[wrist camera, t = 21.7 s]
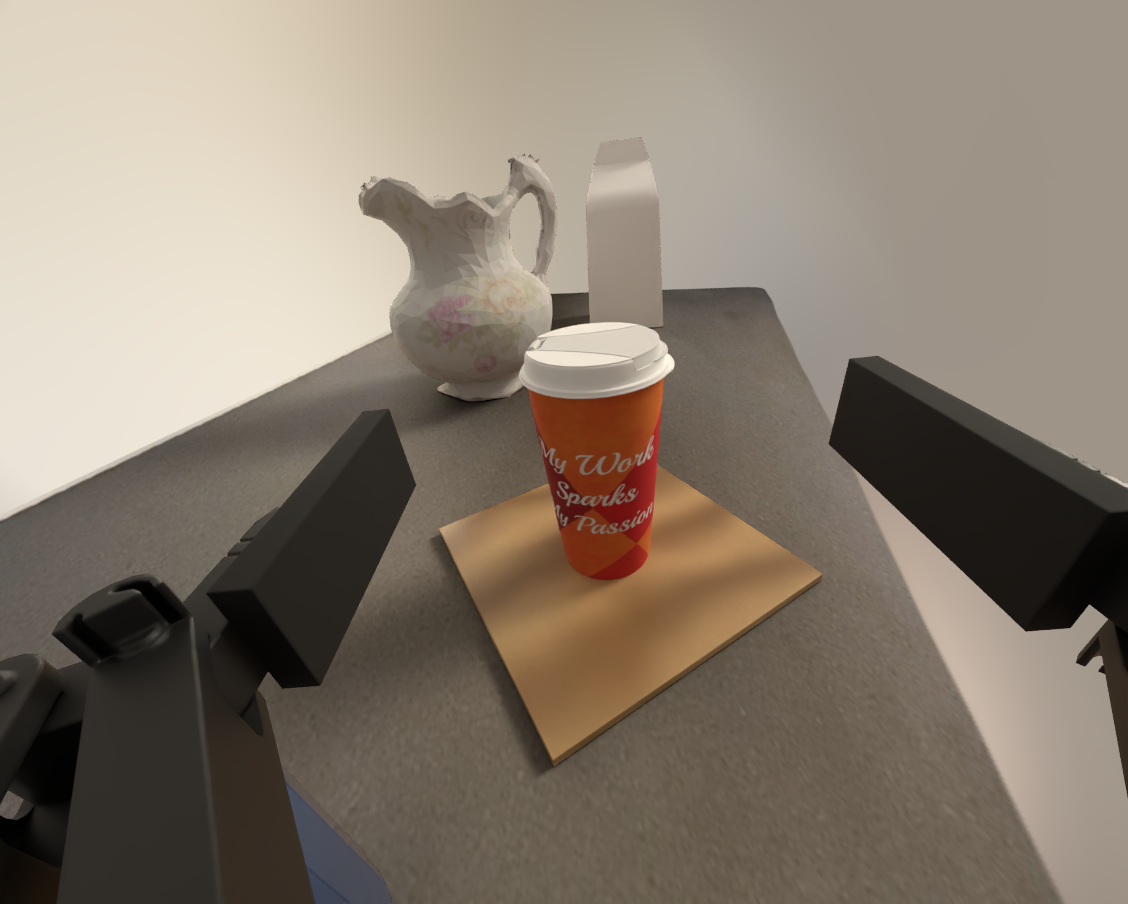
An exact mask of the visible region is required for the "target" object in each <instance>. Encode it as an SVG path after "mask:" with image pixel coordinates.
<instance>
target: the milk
mask: <svg viewBox="0 0 1128 904" xmlns="http://www.w3.org/2000/svg"><path fill="white" fill-rule="evenodd" d="M648 158H649V157H648V154H647V152H646V149H645V146H644V143H643V140H642V138H641V137H638V138H631V139H623V140H616V141H609V142H602V143H601V144H600V147H599V150H598V153H597V156H596V160H595V163H594V167H593V171H592V176H591V181H590V186H589V191H588V196H587V206H586V216H587V248H588V277H589V278H588V279H589V311H590V323H602V322H620V323H631V324H637V325H641V326H644V327H647V328H650V327H663V307H662V282H661V281H662V278H661V249H660V222H659V199H658V192H657V187H656V183H655V179H654V176H653V171H652V167H651V164H650V160H649V159H648Z"/></svg>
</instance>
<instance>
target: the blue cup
mask: <svg viewBox="0 0 1128 904" xmlns="http://www.w3.org/2000/svg"><path fill="white" fill-rule="evenodd" d="M281 766H282V770H283V774H284V778H285V782H286V786H287V790H288V795H289V799H290V803H291V807H292V811H293V815H294V819H295V823H296V827H297V831H298V835H299V839H300V843H301V847H302V851H303V855H304V859H305V863H306V868H307V872H308V876H309V880H310V884H311V888H312V892H313V896H314V900H315V904H392V900H391V897H390V894H389V891H388V888H387V885H386V883H385V881H384V879H383V877H382V876H381V874H380V872H379V870H378V869H377V868H376V867H375V866H374V864H373V863H372V862H371V861H370V859H369V858H368V856H367V855H366V853H365V852H364V850H363V849H362V848H361V847H360V846H359V845H358V844H357V843H356V842H355V841H354V840H353V839H352V838H351V837H350V836H349V834H348V833H347V832H346V831H345V830H344V829H343V828H342V827H341V826H340V825H339V824H338V823H337V822H336V821H335V820H334V819H333V818H332V817H331V816H330V814H329V813H328V812H327V811H326V810H325V809H324V808H323V807H322V806H321V805H320V804H319V803H318V802H317V801H316V800H315V799H314V798H313V797H312V796H311V794H310V793H309V792H308V791H307V790H306V789H305V788H304V787H303V786H302V785H301V784H300V783H299V782H298V781H297V780H296V779H295V778H294V777H293V776H292V774H291V773H290V772H289V771H288V770H287V769H286V768H285V767H284V766H283V765H282V764H281Z"/></svg>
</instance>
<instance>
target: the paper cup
mask: <svg viewBox="0 0 1128 904" xmlns="http://www.w3.org/2000/svg"><path fill="white" fill-rule="evenodd" d="M667 351H668V349H667V345H666V344H665V343H664V342H662V341H661V340H660V339H659V335H658V333H657V332H655V331H654V330H652V329H649V328H647V327H644V326H641V325H637V324H631V323H620V322H602V323H589V324H581V325H574V326H569V327H564V328H561V329H557V330H553V331H550V332H548V333H545V334H542V335H540V336H538V337H537V339H536V340H535V341H534V342H533V343H532V344H531V345H530V346H529V348H528V349H527V351H526V353H525V354H524V364H523V366H522V367H521V370H520V373H519V378H520V381H521V383H522V384H523V385H524V386H525V387H526V388H528V391H529V396H530V400H531V405H532V410H533V415H534V420H535V426H536V430H537V434H538V439H539V443H540V447H541V451H542V456H543V460H544V464H545V469H546V473H547V477H548V482H549V486H550V491H551V495H552V500H553V504H554V509H555V513H556V518H557V522H558V526H559V531H560V535H561V539H562V543H563V547H564V551H565V554H566V557H567V559H568V561H569V563H570V565H571V566H572V567H573V568H574V569H575V570H576V571H578V572H579V573H581V574H582V575H585V576H587V577H590V578H593V579H599V580H614V579H620V578H623V577H626V576H629V575H631V574H632V573H634V572H636V571H637V570H638V569H639V568H641V567H642V565H643V564H644V563H645V561H646V559H647V557H648V553H649V548H650V540H651V531H652V520H653V509H654V497H655V485H656V473H657V460H658V448H659V435H660V422H661V409H662V397H663V384H664V377H665V376H666V375H667V374H668V373H670V372H671V371H672V370H673V369H674V360H673V358H672V357H671V355H669V354H667Z"/></svg>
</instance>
